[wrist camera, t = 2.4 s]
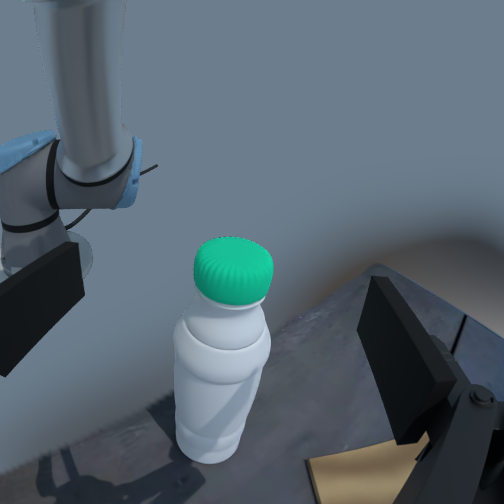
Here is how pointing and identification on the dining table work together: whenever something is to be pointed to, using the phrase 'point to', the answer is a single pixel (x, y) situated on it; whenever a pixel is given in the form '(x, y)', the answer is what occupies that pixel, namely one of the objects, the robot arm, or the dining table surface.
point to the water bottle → (221, 347)
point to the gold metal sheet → (364, 473)
